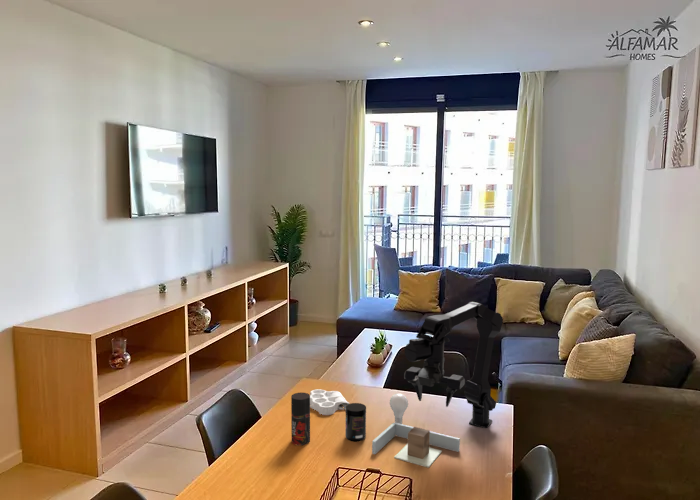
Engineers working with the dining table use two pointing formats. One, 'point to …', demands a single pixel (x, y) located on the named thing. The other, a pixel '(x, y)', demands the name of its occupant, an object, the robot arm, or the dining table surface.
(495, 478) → the dining table surface
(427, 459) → the plate
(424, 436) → the walnut block
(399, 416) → the lightbulb
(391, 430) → the plastic wall
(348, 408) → the supplement container
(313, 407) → the white egg tray
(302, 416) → the deodorant
